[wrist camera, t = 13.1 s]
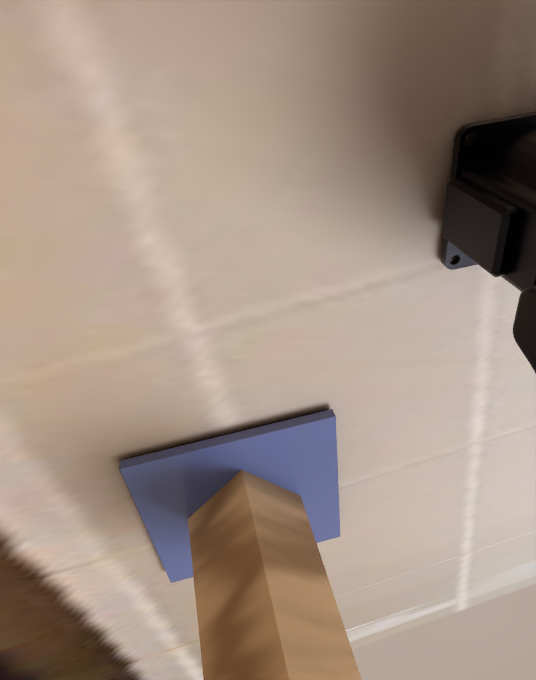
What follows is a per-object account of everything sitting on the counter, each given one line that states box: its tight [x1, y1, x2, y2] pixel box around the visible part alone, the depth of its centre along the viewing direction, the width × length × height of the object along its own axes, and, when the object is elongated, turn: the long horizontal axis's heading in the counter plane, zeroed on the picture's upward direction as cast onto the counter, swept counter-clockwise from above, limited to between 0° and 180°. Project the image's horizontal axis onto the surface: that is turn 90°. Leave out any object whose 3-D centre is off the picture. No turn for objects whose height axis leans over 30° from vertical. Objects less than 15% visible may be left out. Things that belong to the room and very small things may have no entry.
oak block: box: [188, 470, 361, 680], centre depth 25 cm, size 5×5×12 cm
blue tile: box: [119, 409, 340, 583], centre depth 30 cm, size 12×12×1 cm
